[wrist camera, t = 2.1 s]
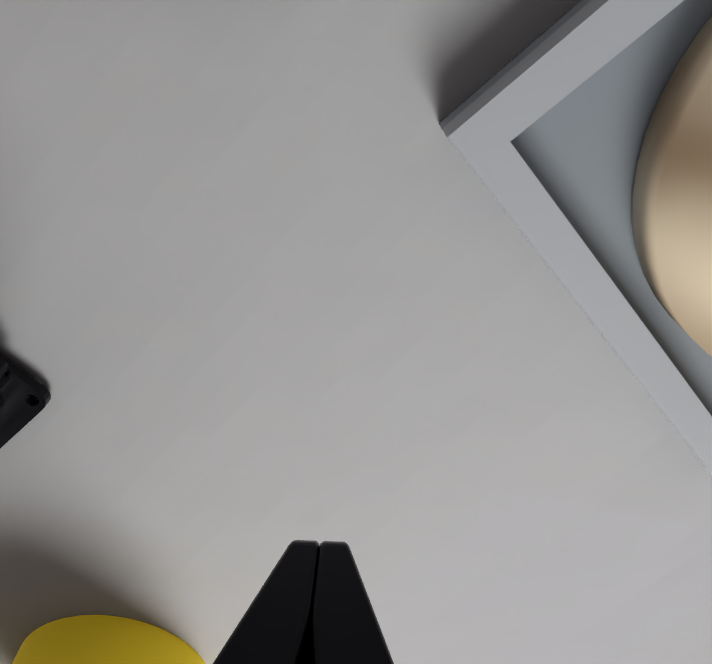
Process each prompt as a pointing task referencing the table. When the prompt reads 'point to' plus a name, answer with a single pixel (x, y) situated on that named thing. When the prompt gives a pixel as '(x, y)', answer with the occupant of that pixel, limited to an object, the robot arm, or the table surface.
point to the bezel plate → (594, 178)
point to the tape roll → (103, 643)
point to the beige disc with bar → (679, 194)
